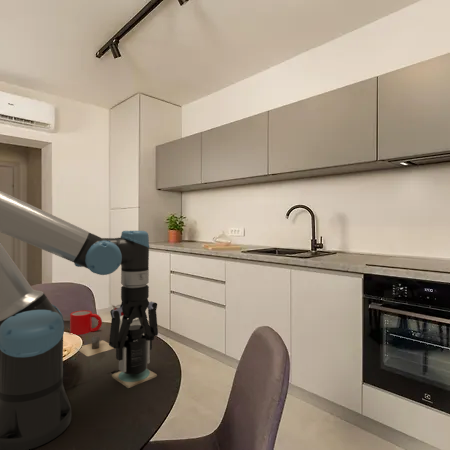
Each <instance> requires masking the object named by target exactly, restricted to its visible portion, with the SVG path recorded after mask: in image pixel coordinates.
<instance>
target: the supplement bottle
mask: <svg viewBox="0 0 450 450" xmlns="http://www.w3.org/2000/svg"><path fill="white" fill-rule="evenodd" d="M143 333H144V332H143V326H141V325H132V326H130V328H129V331H128V334H127V337H126V341H125V344H124V347H126V372H124V373H125V374H129V375H134V374H139V373H142V372H144V371H145V370H146V368H147V369H148V364H147V338H146V337H145V336H144V335H143Z"/></svg>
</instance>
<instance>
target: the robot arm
mask: <svg viewBox="0 0 450 450" xmlns="http://www.w3.org/2000/svg"><path fill="white" fill-rule="evenodd" d="M0 233H2V234H5V235H7V236H9V237H11V238H14V239H17V240H18V241H21V242H23V243H26V244H29V245H31V246H34V247H35V248H38V249H41V250H43V251H46V252H47V253H50V254H52V255H55V256H56V257H57V256H58V257H60V258H62V259H63V260H64V259H65V260H67V261H68V262H72V263H73V265H74V266H75V267H77V268H85V269H88V270H89V271H90V272H91V273H93V274H95V275H99V276H107V275H110V274H112V273H114V272H116V271H117V270H118V269H119V267H120V266H121V267H120V269H121V270H120V271H121V272H120V275H121V276H120V283H121V285H122V286H121V287H120V299H121V304H120V305H121V306H120V308H118V309H116V310H114V309H115V308H114V309H111V310H110V311H109V312H110V317H111V320H110V321H111V323H110V332H109V340H108V341H109V342H108V343H109V346H111V347H113V348H115V358H116V360H118V370H119V372H120V371H122V372H123V373H124V372H126V347H124V344H125V341H126V337H127V334H128V331H129V328H130V324H131V323H132V321H133V319H135V318H139V321H140V324H141V326H143V332H144V336H145V337H146V338H147V365H149V364H150V363H151V361H150V360H151V359H150V358H151V357H150V355H151V351H152V348H153V341H154V340H155V337H156V336H158V334H159V330H158V318H157V317H158V316H157V308H158V303H157V302H155V301H149V299H148V298H149V296H150V295H149V292H150V291H149V290H150V287H149V285H148V284H149V275H150V274H149V273H150V271H149V266H150V265H149V261H150V259H149V256H150V242H149V233H148V232H147V231H145V230H123V231H121V233H120V234H121V235H120V237H114V238H113V237H100V236H98V235H96V234H94V233H91V232H90V231H87V230H86V229H84V228H81V227H79V226H77V225H75V224H73V223H70V222H68V221H66V220H64V219H62V218H60V217H58V216H56V215H53V214H51V213H49V212H46V211H45V210H43V209H40V208H38V207H36V206H34V205H32V204H30V203H28V202H26V201H23V200H21V199H19V198H16V197H15V196H13V195H10V194H9V193H6V192H4V191H2V190H0ZM146 311H147V312H146ZM121 312H122V313H123V314H124V315H123V318H122V324H121V328H120V331H119V327H120V316H121ZM147 313H148V314H147ZM127 318H128V319H127ZM64 333H65V320H64V317H63V314H62V312H61V311H60V309H59V308H58V307H57V306H56V305H54V304H53V303H52V302H51V301H50V299H48V296H47V295H46V294H45V292H44V291H42V290H37V289H33V287H32V286H31V284H30V283H29V281H28V280H27V279H26V278H25V276H24V274H23V273H22V271H21V270H20V268H19V266H17V264H16V263H15V262H14V260H13V259H12V257H11V256H10V254H9V253H8V251H7V250H6V248H5V247H4V245H3V244H2V243H1V242H0V450H29V449H30V450H32V449H36V448H39V447H41V446H43V445H45V444H47V443H49V442H51V441H53V440H54V439H56V438H58V437H59V436H60V435H61V434H63V433H64V432H65V430H66V429H68V427H69V426H70V424H71V421H72V405H71V403H70V401H69V398H68V394H67V393H66V389H65V386H64V383H63V382H64V381H63V380H64V379H63V378H64V377H63V376H64Z"/></svg>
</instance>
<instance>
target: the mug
mask: <svg viewBox="0 0 450 450" xmlns="http://www.w3.org/2000/svg"><path fill="white" fill-rule="evenodd" d="M93 318H94V319H96V320H97V325H96V326H95V327H93ZM102 325H103V321H102V318H101V316H100V315H99V314H96V313H93V311H91V310H85V309H84V310H77V311H73V312H71V313H69V334H70V333H73V334H76V335H75V336H77V335H78V336H80V335H85V334H88V333H92V332H96V331H99V330H100V328H101V327H102ZM73 334H72V335H73Z"/></svg>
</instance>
